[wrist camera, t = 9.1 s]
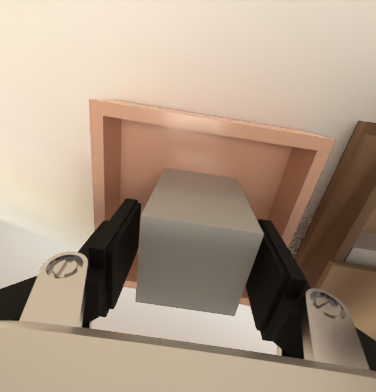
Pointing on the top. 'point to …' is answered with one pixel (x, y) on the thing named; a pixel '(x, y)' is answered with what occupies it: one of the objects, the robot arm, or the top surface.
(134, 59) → the top surface
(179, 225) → the stone block
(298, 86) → the top surface
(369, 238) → the flat grey square block
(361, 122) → the sliding lid wooden box
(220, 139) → the terracotta tray
